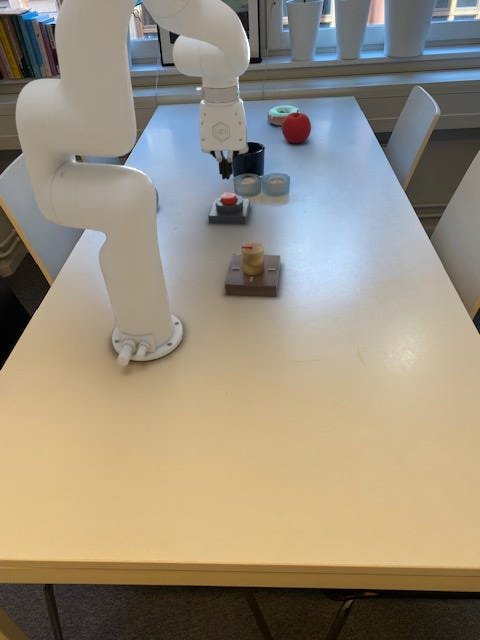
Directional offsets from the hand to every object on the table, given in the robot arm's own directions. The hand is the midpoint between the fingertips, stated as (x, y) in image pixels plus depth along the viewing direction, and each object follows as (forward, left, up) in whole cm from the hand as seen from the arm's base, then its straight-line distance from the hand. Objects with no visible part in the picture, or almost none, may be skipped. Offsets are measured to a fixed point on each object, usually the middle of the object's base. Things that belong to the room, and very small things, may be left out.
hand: (226, 177), depth 115 cm
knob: (-26, -9, -8) cm, 29 cm away
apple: (+51, -14, -10) cm, 54 cm away
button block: (+1, 0, -10) cm, 10 cm away
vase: (+3, +22, -10) cm, 24 cm away
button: (+1, 0, -7) cm, 7 cm away
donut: (+70, -9, -10) cm, 71 cm away
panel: (-26, -9, -10) cm, 30 cm away
